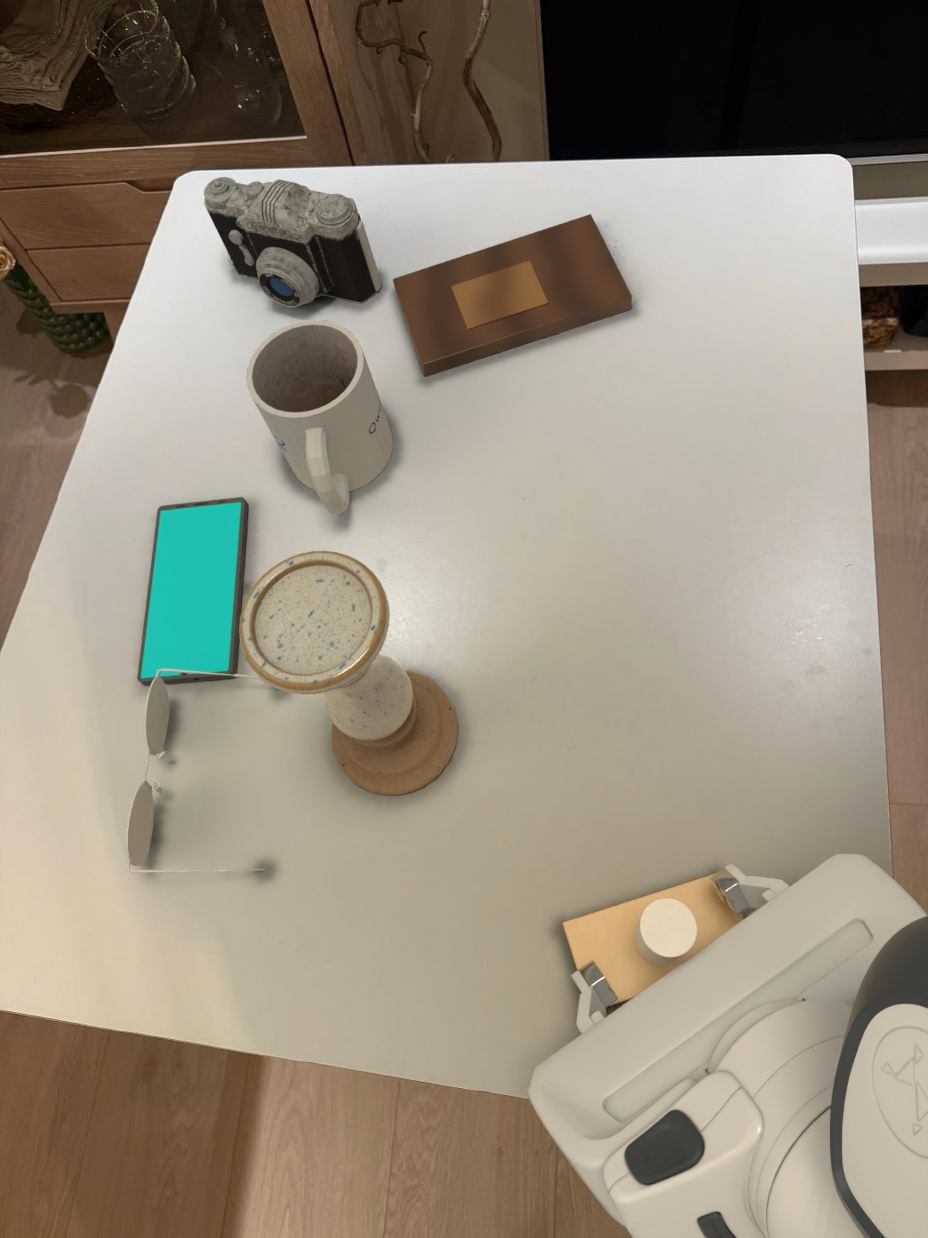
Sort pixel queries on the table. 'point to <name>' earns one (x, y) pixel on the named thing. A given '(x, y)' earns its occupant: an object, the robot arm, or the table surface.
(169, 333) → the table surface
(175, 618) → the smartphone
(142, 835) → the sunglasses
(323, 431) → the mug
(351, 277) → the camera
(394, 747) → the candle holder
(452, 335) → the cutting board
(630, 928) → the pillar on tan base
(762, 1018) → the robot arm
